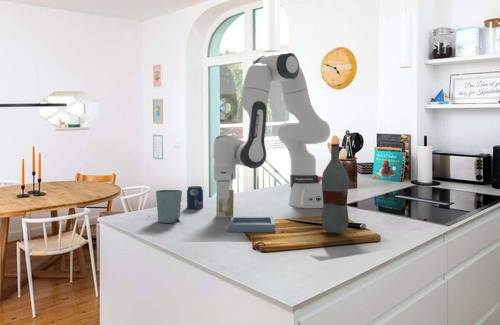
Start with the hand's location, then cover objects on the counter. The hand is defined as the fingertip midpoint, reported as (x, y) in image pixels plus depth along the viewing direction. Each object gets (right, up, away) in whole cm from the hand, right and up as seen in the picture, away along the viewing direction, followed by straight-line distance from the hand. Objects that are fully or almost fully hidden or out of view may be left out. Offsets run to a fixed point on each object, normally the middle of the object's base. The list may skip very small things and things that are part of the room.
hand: (225, 209), depth 173 cm
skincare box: (0, -4, 0) cm, 4 cm away
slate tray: (+11, -5, -17) cm, 21 cm away
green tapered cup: (-22, -5, -2) cm, 23 cm away
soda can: (-14, -4, +14) cm, 20 cm away
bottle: (+40, -5, -23) cm, 46 cm away
